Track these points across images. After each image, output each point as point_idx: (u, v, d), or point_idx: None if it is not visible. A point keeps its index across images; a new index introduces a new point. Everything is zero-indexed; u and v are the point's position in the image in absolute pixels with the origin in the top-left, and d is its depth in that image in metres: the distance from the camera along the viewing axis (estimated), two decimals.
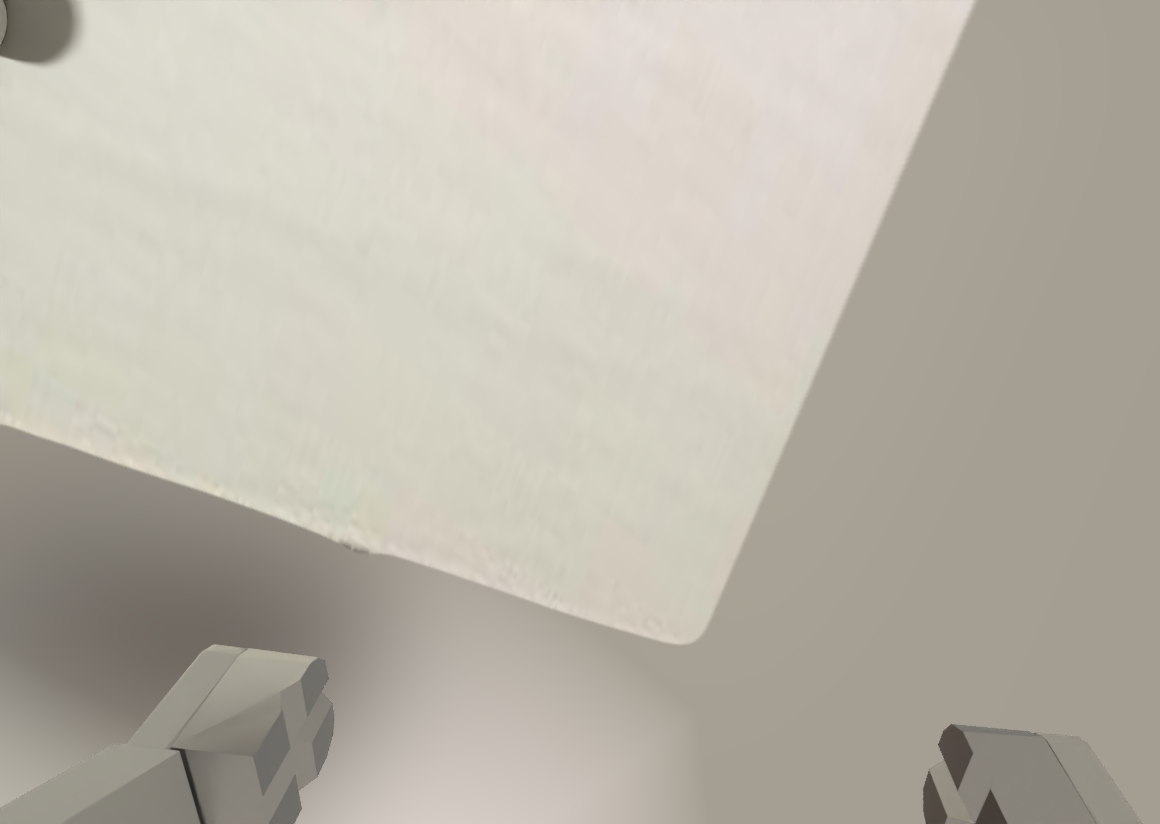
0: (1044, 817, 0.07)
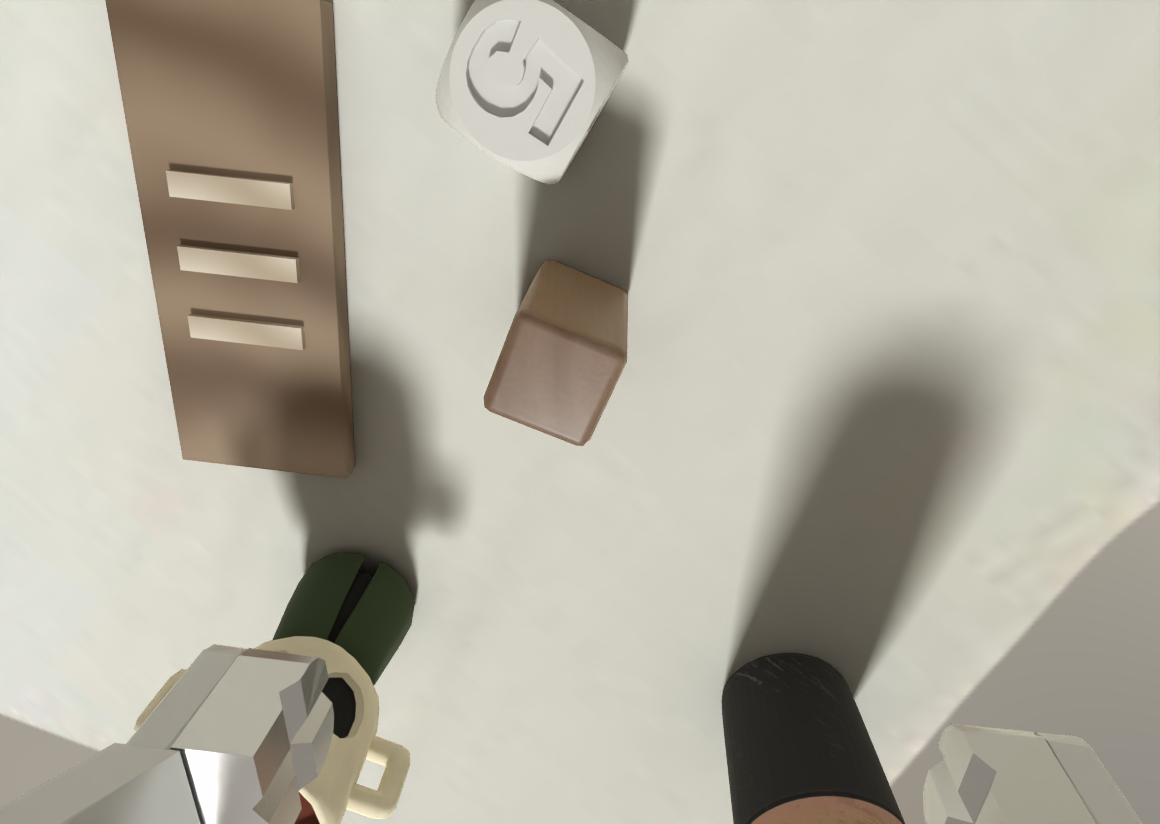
0: (1044, 816, 0.07)
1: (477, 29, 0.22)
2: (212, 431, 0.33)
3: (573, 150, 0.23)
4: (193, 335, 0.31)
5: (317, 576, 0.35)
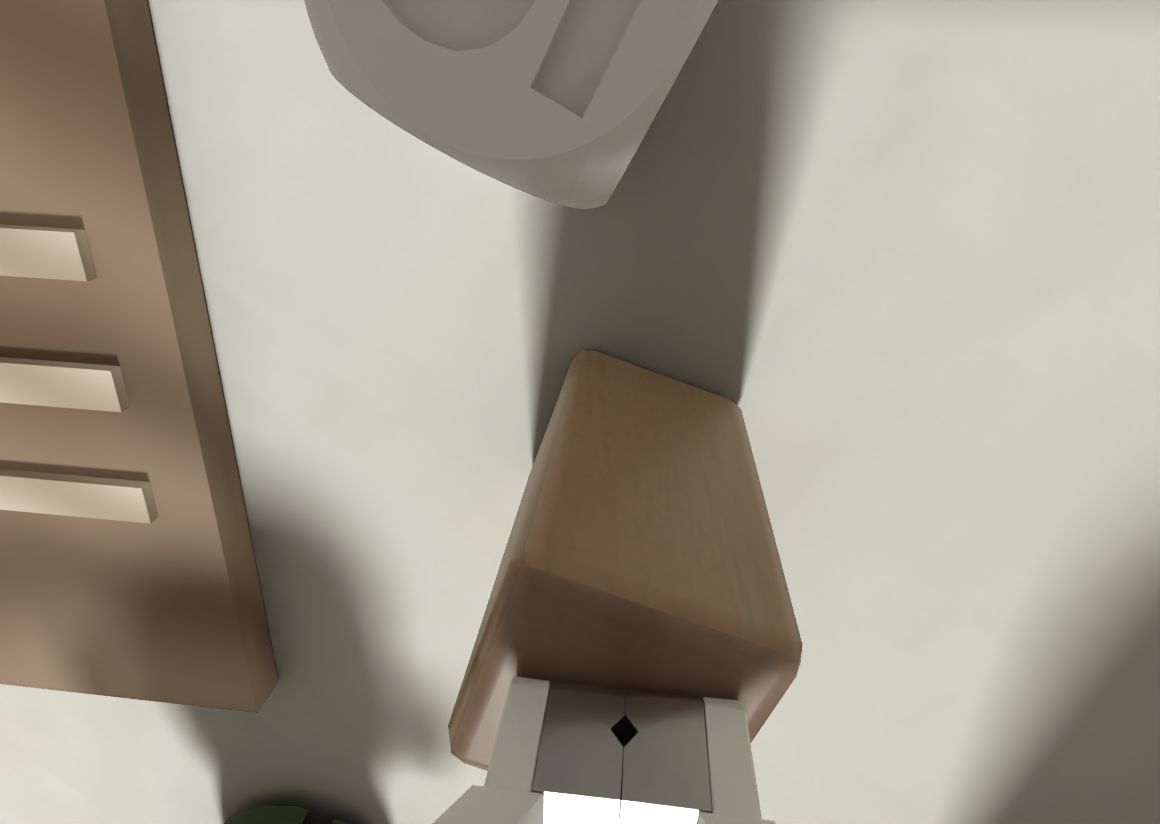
0: (662, 773, 0.08)
1: None
2: (32, 644, 0.20)
3: (646, 126, 0.09)
4: None
5: None
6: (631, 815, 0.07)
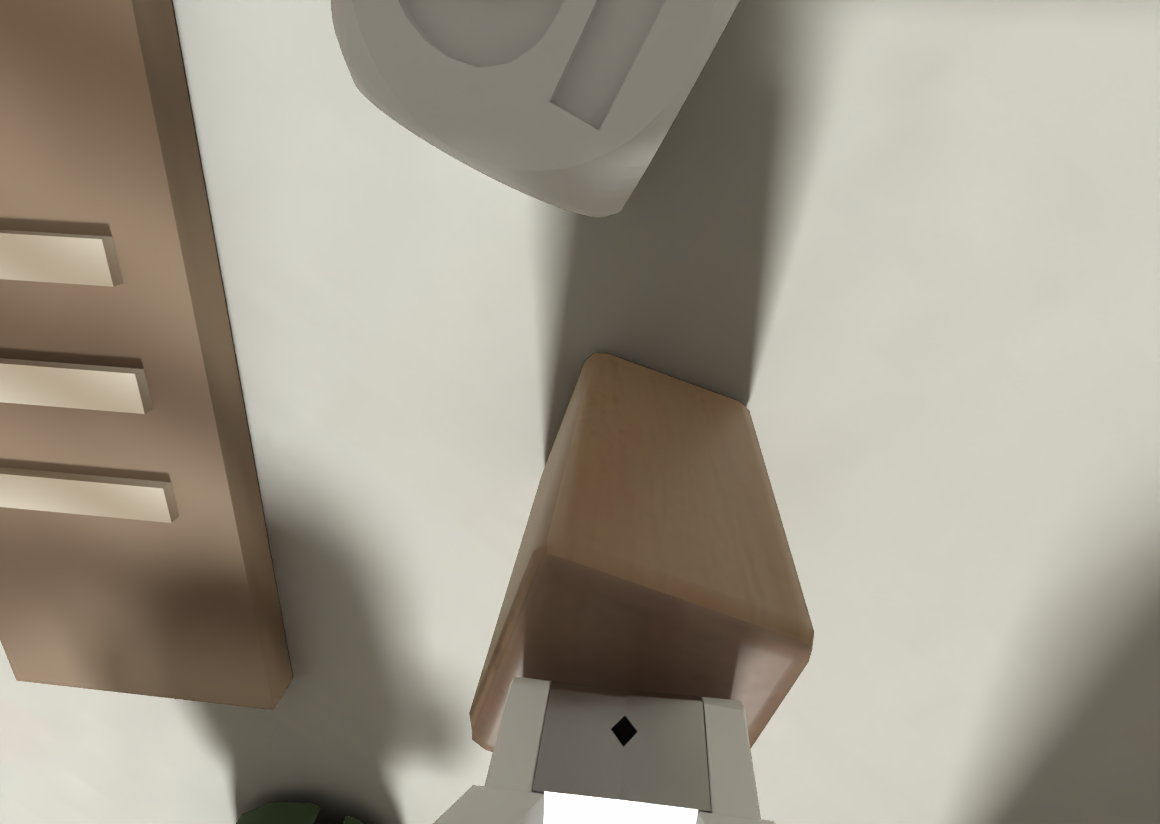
0: (662, 773, 0.08)
1: None
2: (53, 641, 0.20)
3: (660, 138, 0.10)
4: None
5: None
6: (630, 815, 0.07)
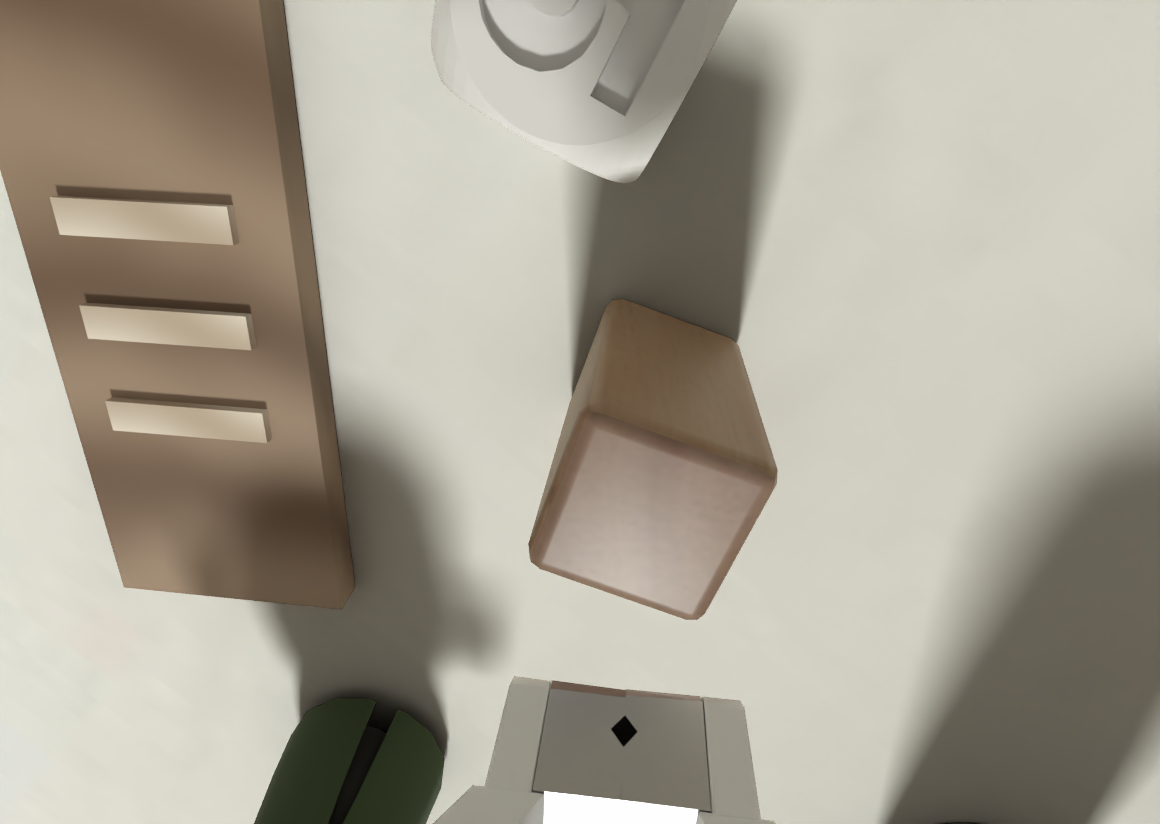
0: (662, 773, 0.08)
1: None
2: (157, 551, 0.24)
3: (668, 121, 0.13)
4: (116, 427, 0.22)
5: (311, 736, 0.26)
6: (630, 815, 0.07)
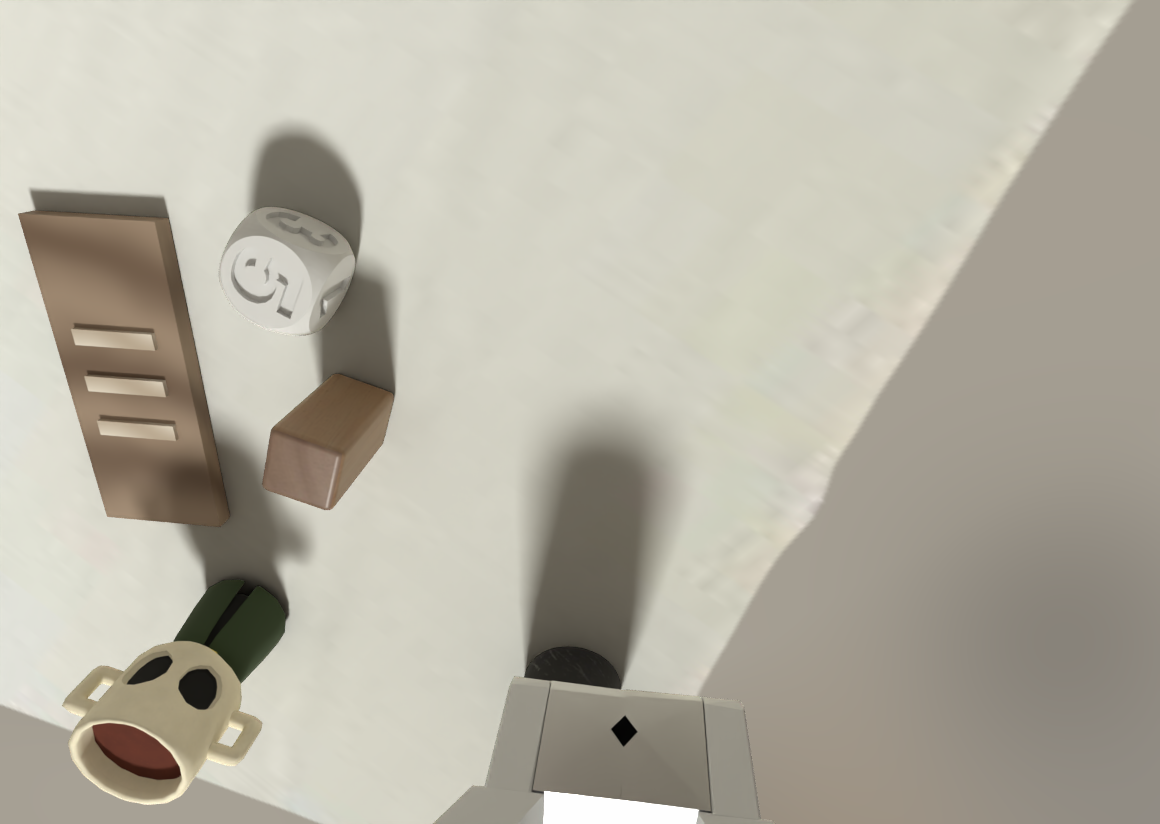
0: (662, 773, 0.08)
1: (233, 254, 0.35)
2: (124, 496, 0.46)
3: (308, 320, 0.36)
4: (102, 433, 0.44)
5: (208, 597, 0.48)
6: (630, 815, 0.07)
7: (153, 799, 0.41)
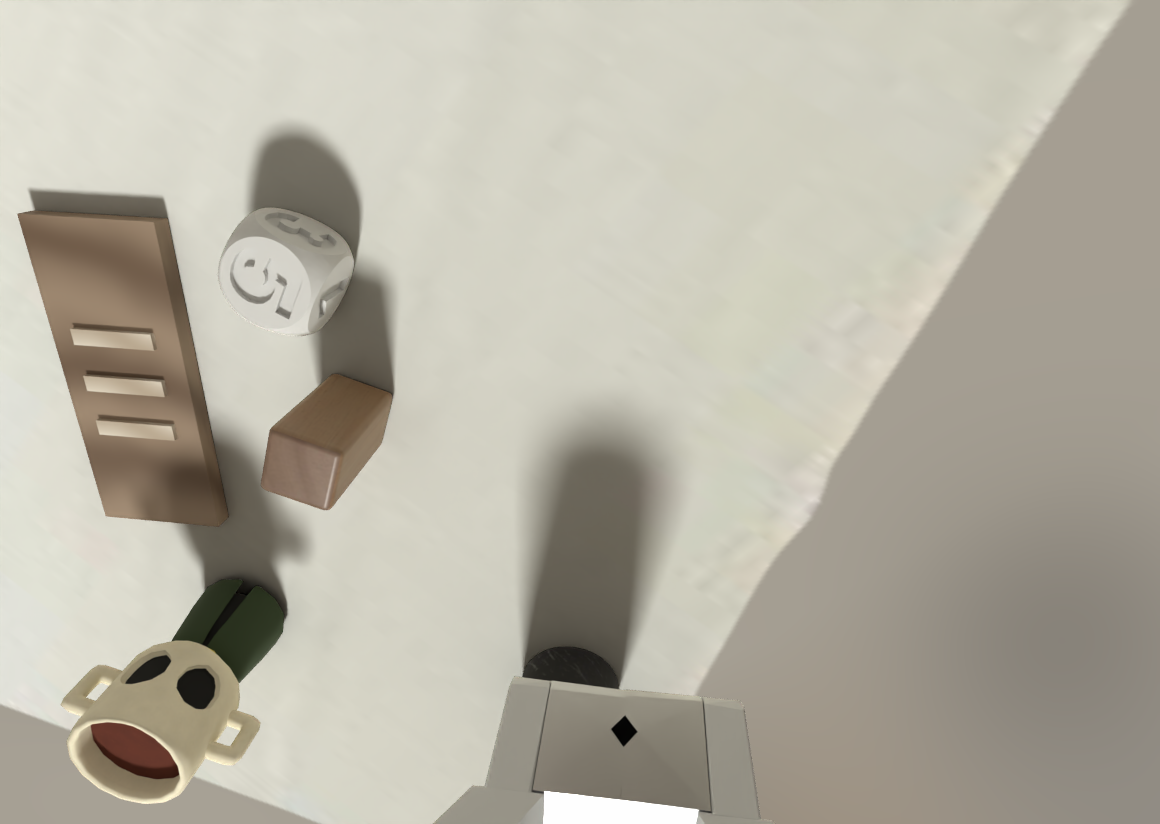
0: (662, 773, 0.08)
1: (232, 254, 0.35)
2: (123, 496, 0.46)
3: (307, 320, 0.36)
4: (101, 432, 0.44)
5: (206, 596, 0.48)
6: (630, 815, 0.07)
7: (151, 798, 0.41)
